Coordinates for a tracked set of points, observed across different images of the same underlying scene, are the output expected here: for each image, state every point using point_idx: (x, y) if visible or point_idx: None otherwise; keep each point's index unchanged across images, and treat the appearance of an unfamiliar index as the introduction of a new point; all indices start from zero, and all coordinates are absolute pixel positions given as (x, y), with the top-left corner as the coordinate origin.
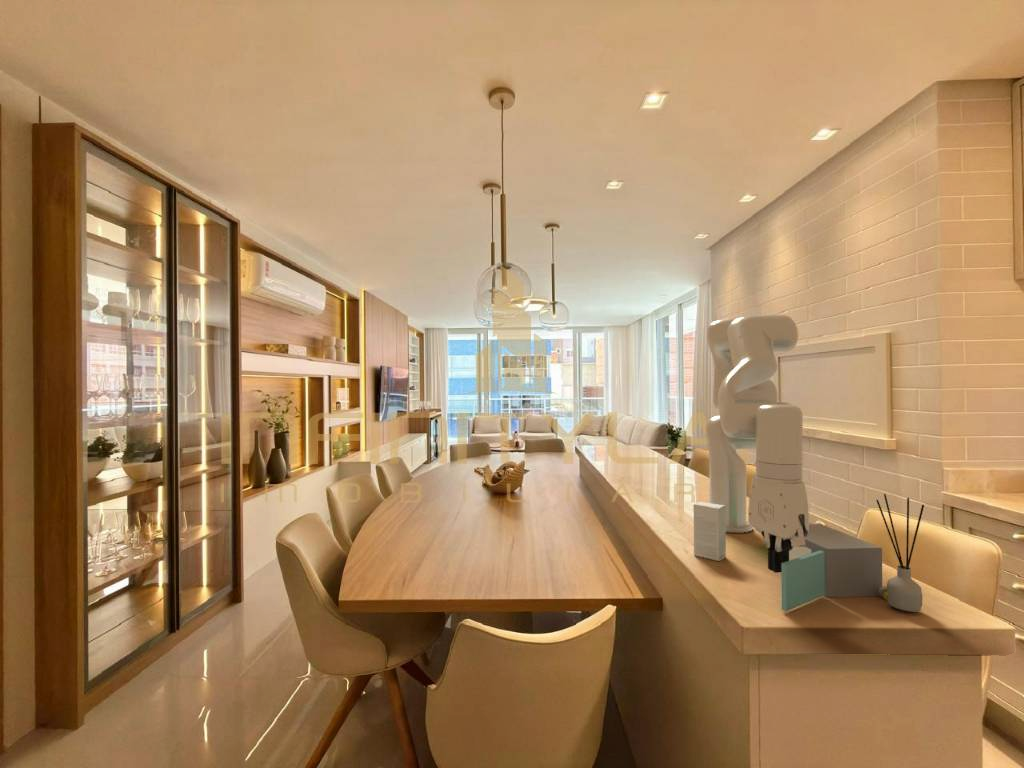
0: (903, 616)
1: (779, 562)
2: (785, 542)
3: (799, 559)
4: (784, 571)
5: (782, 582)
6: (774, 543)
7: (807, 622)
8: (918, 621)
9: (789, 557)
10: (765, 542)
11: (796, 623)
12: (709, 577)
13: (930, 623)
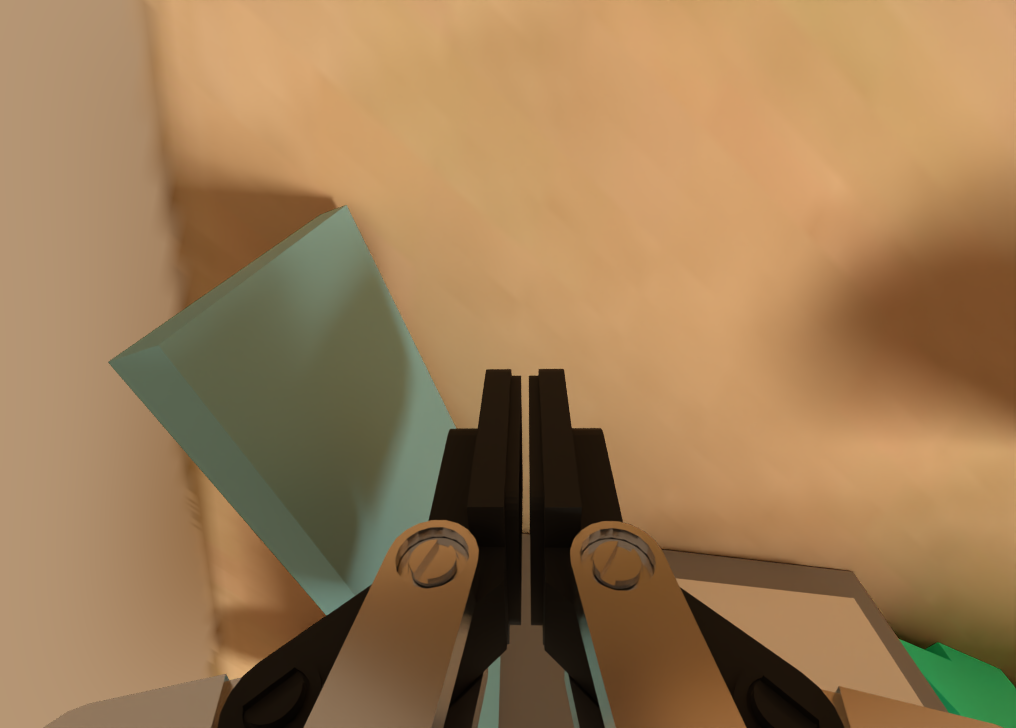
0: (300, 618)
1: (464, 453)
2: (292, 697)
3: (303, 577)
4: (179, 314)
5: (261, 264)
6: (567, 622)
7: (230, 253)
8: (263, 625)
9: (770, 645)
10: (658, 567)
11: (212, 179)
12: (1001, 105)
13: (250, 639)
